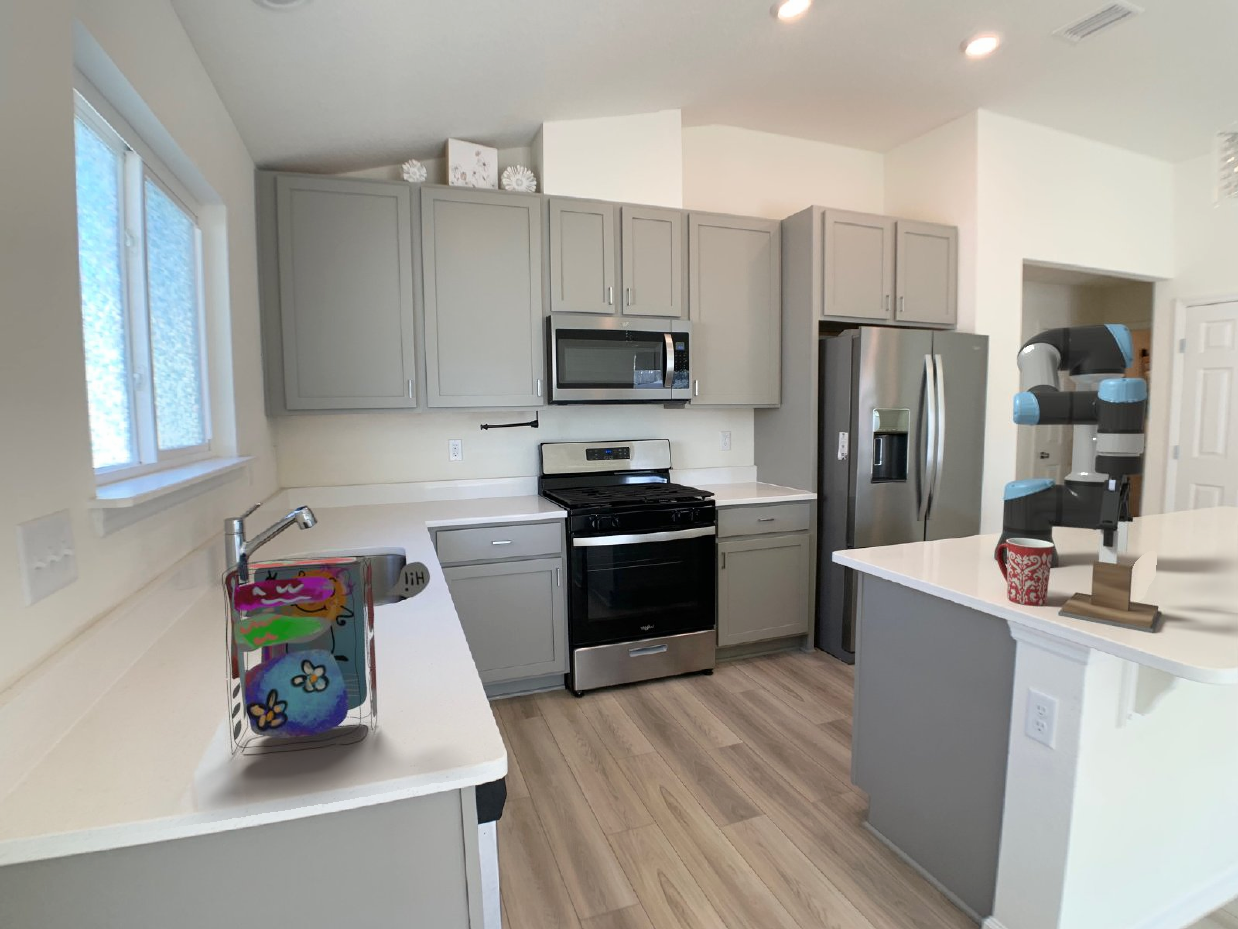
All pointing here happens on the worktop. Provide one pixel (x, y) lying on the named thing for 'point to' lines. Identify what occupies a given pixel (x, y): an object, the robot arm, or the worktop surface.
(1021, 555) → the mug
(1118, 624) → the mat
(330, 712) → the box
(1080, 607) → the wooden base stand
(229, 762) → the worktop surface
